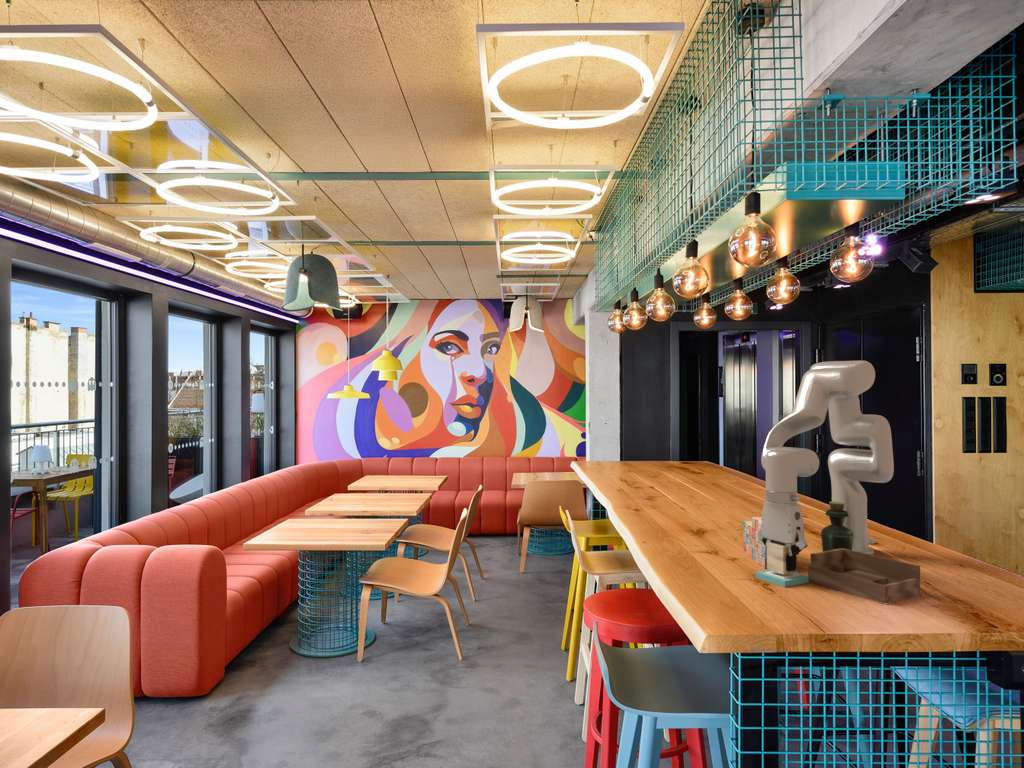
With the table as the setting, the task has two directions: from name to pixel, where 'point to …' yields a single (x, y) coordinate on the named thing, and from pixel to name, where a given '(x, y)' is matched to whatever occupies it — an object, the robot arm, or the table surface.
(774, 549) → the beech block
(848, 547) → the potion bottle
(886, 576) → the brown wooden tray
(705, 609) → the table surface
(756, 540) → the stack of blocks
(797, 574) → the teal picture frame
